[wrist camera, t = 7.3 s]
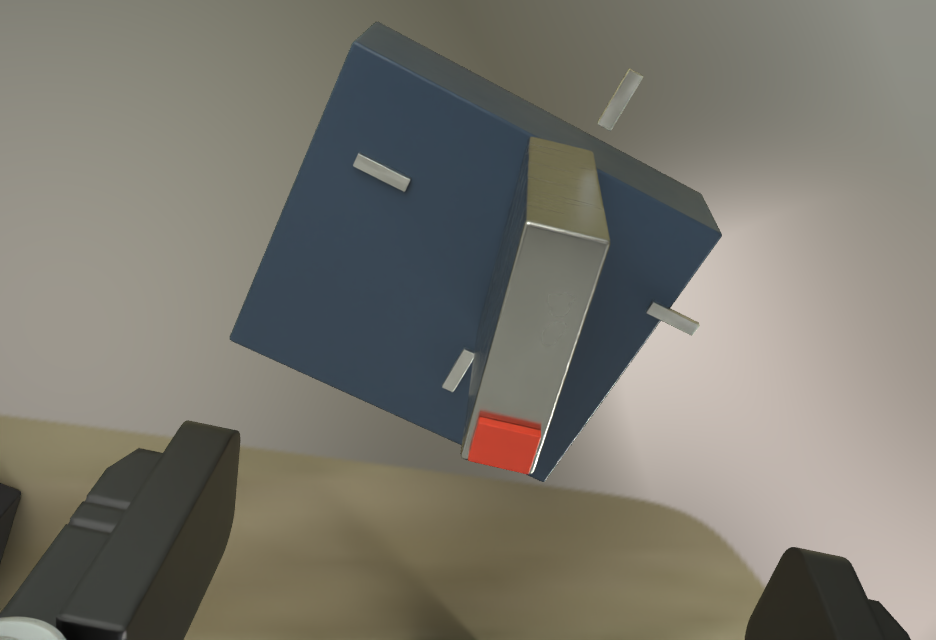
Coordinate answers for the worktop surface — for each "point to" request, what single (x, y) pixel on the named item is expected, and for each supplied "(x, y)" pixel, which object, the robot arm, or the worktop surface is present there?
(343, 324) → the dial base
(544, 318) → the silver and red block
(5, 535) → the button box
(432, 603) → the worktop surface
